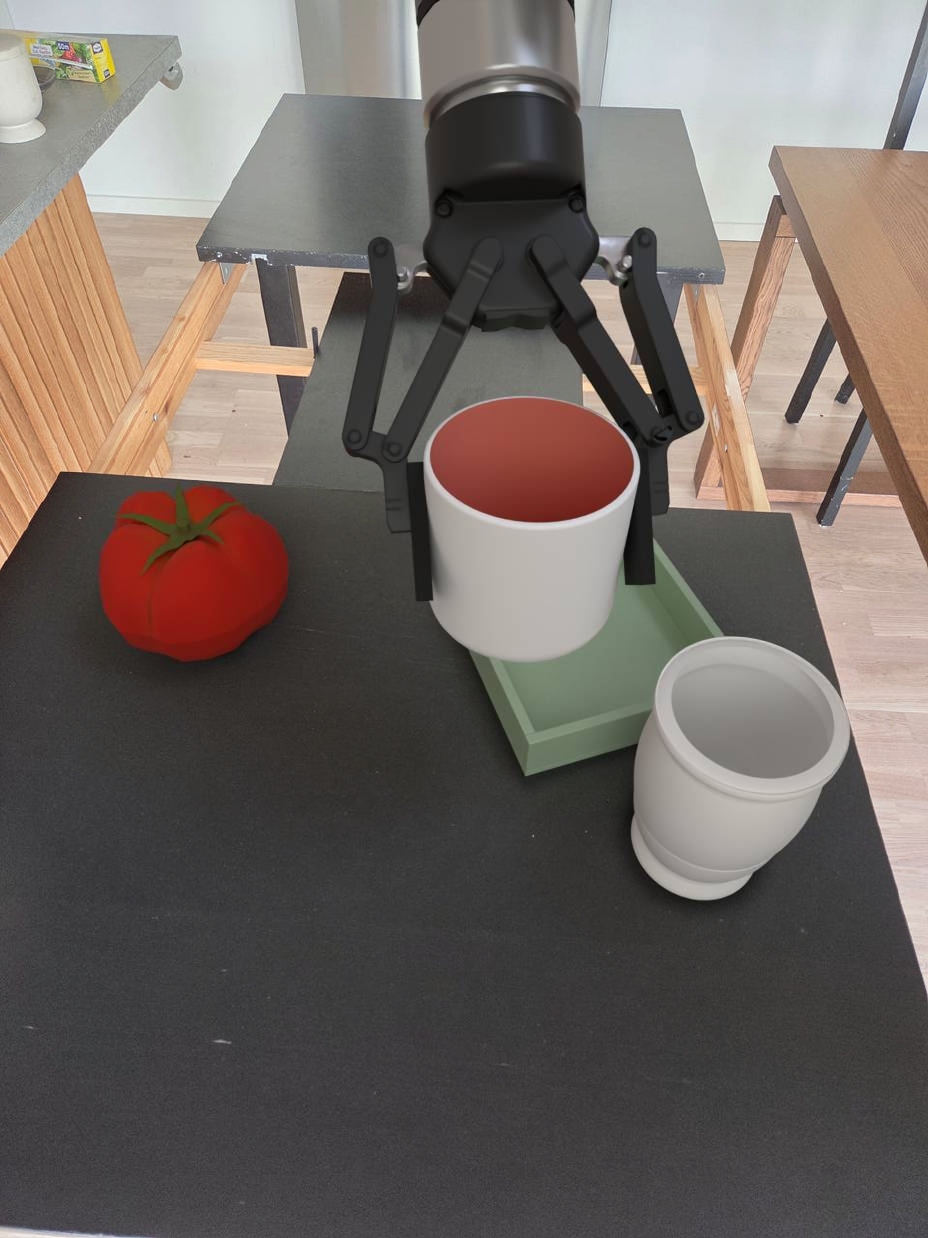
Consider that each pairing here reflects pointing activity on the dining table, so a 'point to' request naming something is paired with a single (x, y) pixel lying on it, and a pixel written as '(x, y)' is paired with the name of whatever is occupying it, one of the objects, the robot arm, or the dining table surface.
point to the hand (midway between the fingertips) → (533, 592)
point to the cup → (527, 524)
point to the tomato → (191, 572)
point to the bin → (598, 675)
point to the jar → (731, 762)
